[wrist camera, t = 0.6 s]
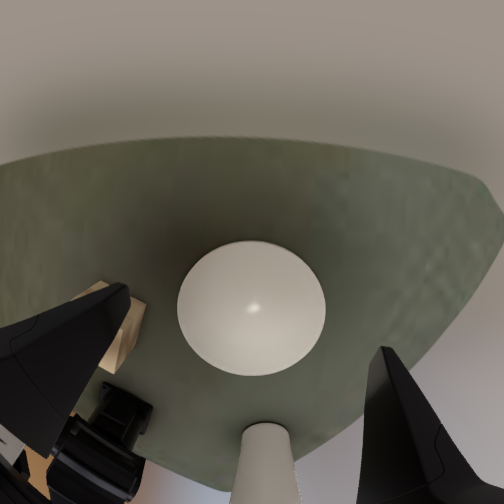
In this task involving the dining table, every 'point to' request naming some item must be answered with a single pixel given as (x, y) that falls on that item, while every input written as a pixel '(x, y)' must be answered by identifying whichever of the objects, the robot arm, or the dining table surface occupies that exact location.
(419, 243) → the dining table surface
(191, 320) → the plate
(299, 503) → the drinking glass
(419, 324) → the dining table surface
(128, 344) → the oak block
